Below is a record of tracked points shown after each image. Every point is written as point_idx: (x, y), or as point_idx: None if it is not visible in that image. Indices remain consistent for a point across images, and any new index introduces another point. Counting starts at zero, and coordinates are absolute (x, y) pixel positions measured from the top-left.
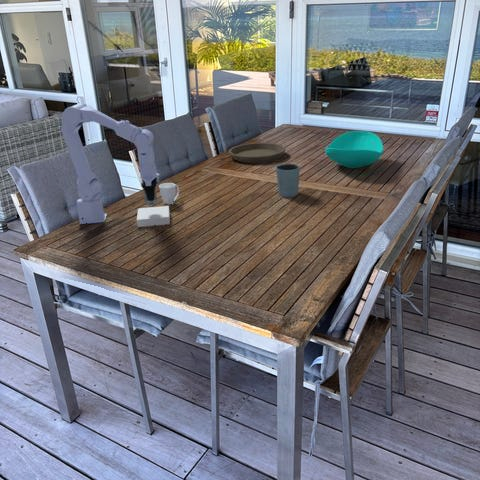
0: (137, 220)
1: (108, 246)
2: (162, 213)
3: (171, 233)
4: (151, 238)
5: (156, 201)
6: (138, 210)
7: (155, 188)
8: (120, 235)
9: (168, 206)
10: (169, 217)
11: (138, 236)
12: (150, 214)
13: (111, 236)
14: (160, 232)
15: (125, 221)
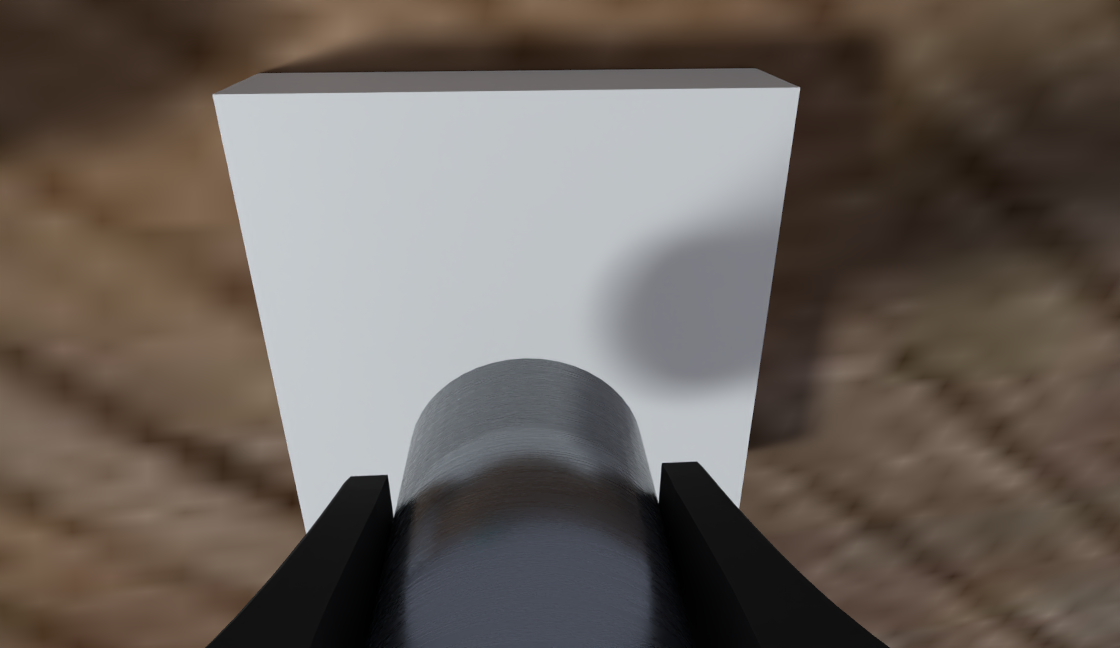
0: None
1: (1054, 633)
2: (601, 205)
3: (1099, 44)
4: (1104, 298)
5: (580, 387)
6: None
7: (545, 612)
8: (859, 581)
9: (256, 99)
10: (577, 75)
11: (971, 431)
12: None
13: None
14: (985, 199)
15: None
